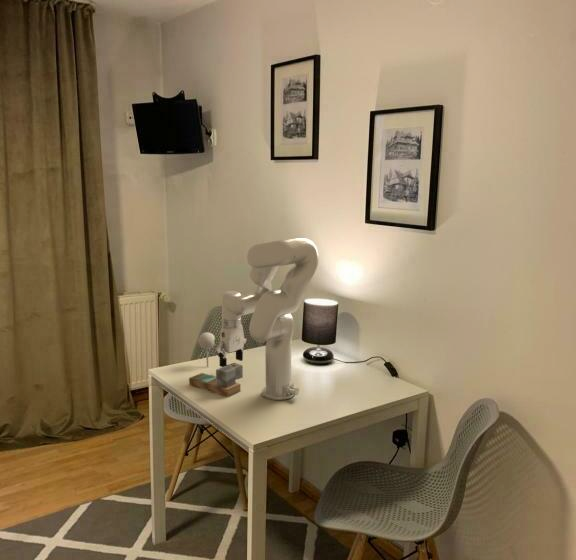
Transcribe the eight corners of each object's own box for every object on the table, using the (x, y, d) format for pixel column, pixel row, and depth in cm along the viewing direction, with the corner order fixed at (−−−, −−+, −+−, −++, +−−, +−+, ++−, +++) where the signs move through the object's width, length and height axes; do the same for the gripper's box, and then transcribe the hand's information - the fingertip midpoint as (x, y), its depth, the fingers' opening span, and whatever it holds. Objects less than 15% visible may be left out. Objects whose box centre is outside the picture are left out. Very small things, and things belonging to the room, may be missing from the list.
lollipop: (214, 369, 235) (213, 335, 232) (197, 369, 235) (196, 335, 232) (217, 363, 242) (216, 330, 239) (200, 363, 242) (199, 330, 239)
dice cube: (233, 380, 223) (233, 368, 222) (225, 377, 226) (224, 365, 226) (242, 377, 227) (242, 365, 226) (234, 374, 230) (234, 362, 229)
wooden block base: (240, 391, 212) (240, 368, 210) (228, 397, 206) (227, 374, 205) (202, 380, 224) (201, 358, 222) (189, 385, 218) (188, 363, 216)
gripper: (223, 329, 213) (223, 371, 217) (252, 319, 227) (252, 359, 231) (209, 325, 218) (209, 367, 221) (238, 316, 231) (238, 355, 235)
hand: (231, 363), depth 226 cm, fingers open, 9 cm apart
